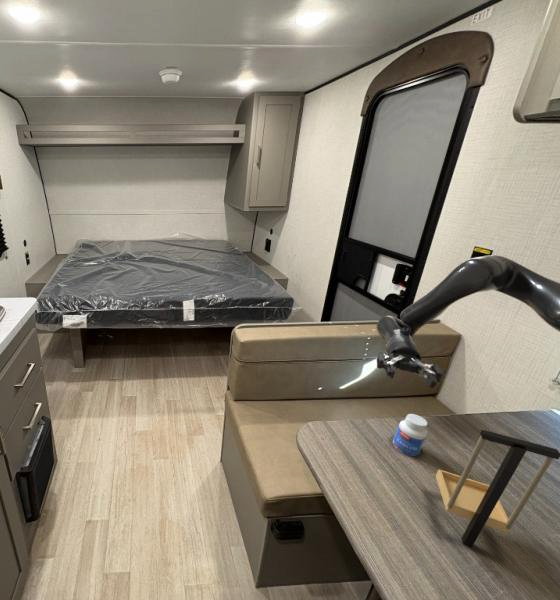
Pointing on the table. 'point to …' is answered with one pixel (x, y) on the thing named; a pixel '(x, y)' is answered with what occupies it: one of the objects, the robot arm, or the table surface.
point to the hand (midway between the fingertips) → (412, 380)
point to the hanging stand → (490, 487)
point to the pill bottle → (411, 435)
